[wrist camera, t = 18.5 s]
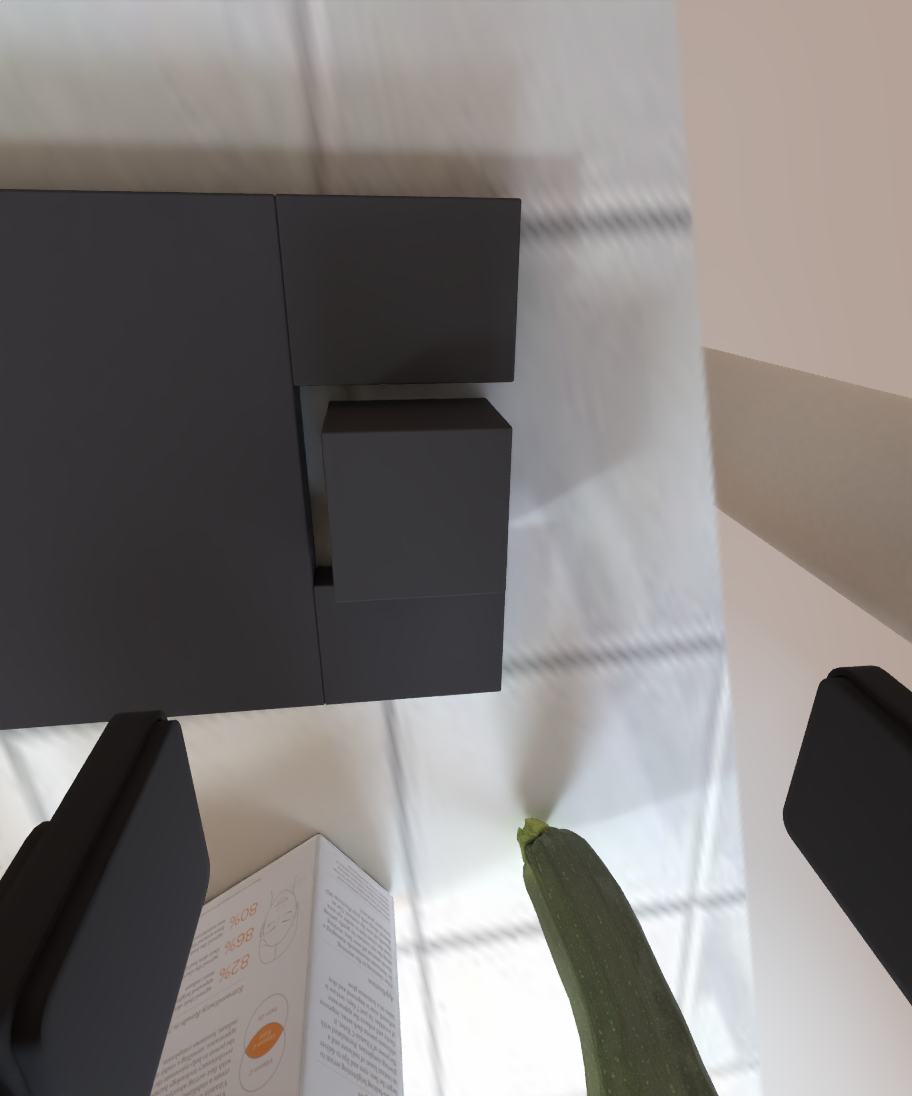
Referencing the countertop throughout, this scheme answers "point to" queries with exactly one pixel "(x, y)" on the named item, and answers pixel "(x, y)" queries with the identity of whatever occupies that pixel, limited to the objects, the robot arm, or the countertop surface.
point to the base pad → (221, 442)
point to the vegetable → (608, 972)
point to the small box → (290, 987)
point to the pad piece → (417, 497)
